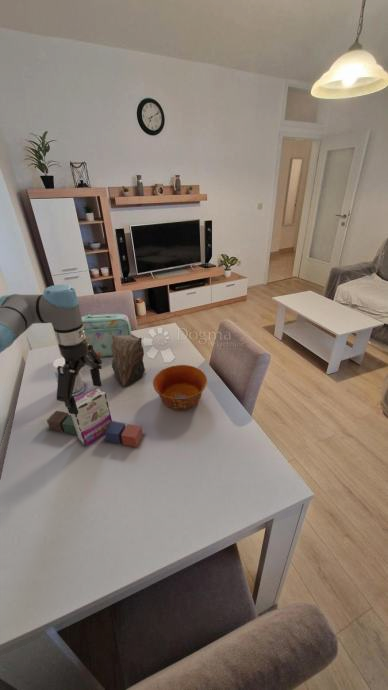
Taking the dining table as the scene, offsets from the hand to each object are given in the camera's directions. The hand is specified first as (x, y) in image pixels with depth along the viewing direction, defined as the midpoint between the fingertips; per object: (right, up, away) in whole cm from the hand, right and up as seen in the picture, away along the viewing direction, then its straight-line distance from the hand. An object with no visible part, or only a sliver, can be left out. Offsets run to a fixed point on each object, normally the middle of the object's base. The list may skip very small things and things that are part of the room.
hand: (86, 398), depth 88 cm
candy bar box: (0, -14, +8) cm, 16 cm away
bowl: (+29, -5, +23) cm, 38 cm away
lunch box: (-10, +13, +55) cm, 57 cm away
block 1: (-13, -12, +11) cm, 21 cm away
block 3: (+8, -15, +6) cm, 18 cm away
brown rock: (+5, +2, +36) cm, 36 cm away
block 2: (-8, -13, +10) cm, 18 cm away
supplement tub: (-17, -2, +29) cm, 33 cm away
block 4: (+14, -16, +5) cm, 21 cm away
